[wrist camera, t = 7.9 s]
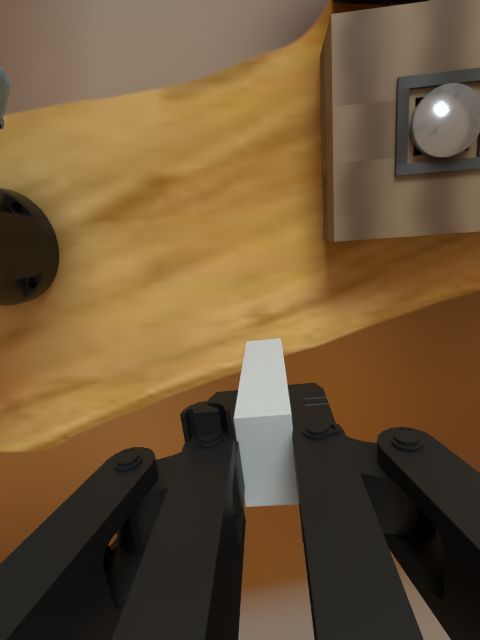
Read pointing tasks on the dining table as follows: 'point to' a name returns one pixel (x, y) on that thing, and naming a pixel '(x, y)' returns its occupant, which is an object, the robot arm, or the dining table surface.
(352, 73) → the socket block
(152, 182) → the dining table surface
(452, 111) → the grey piece
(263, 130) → the dining table surface
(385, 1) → the candle
